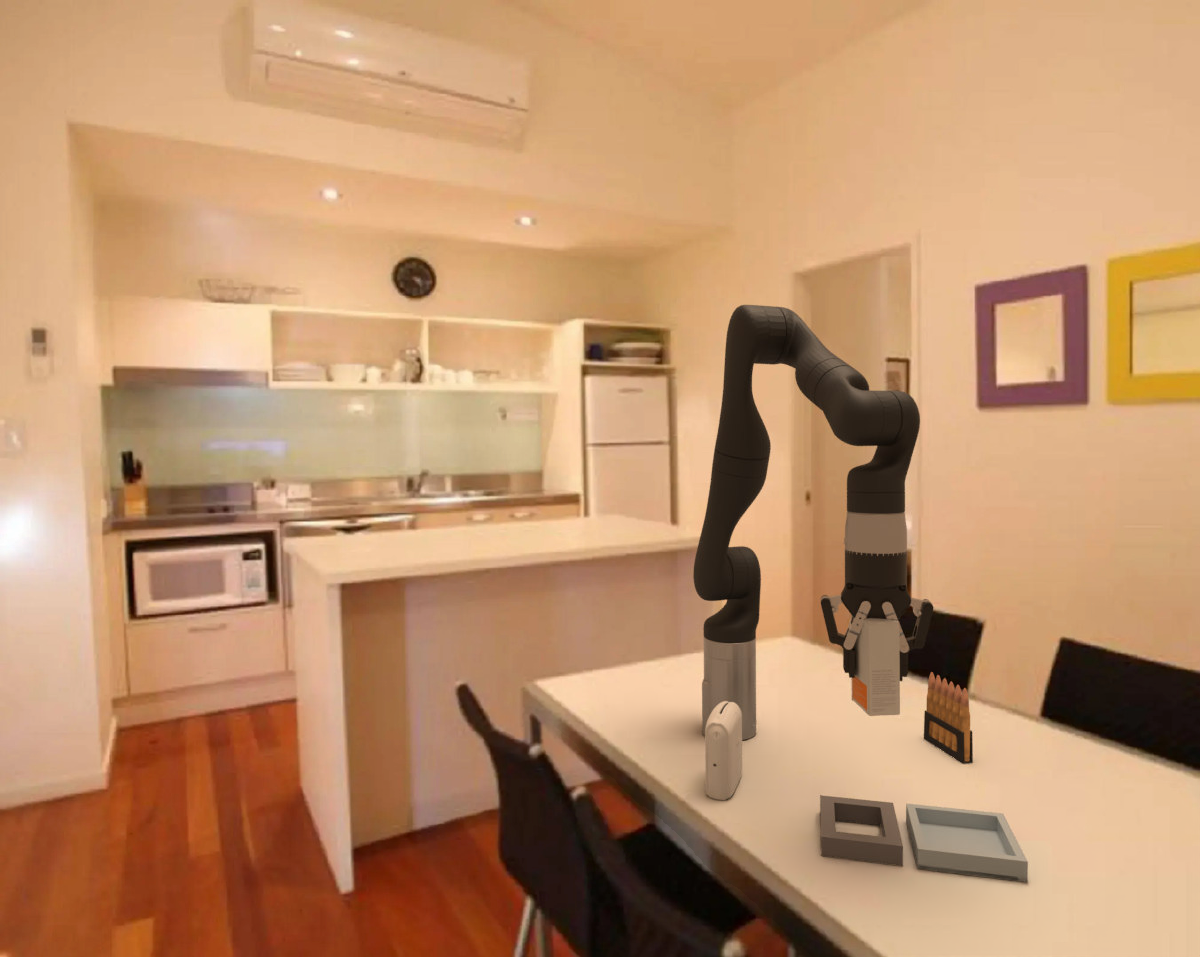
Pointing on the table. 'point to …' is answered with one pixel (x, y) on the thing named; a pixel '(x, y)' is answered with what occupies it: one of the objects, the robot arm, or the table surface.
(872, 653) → the skincare box
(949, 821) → the parts tray
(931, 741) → the ammunition clip
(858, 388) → the robot arm
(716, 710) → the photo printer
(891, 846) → the holder
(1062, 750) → the table surface
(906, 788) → the table surface
